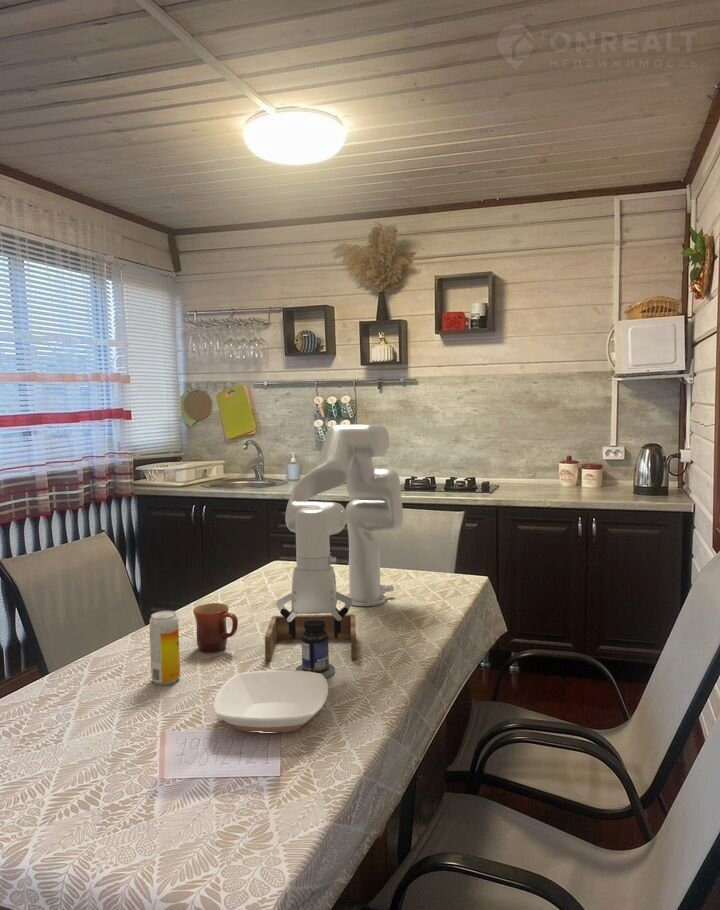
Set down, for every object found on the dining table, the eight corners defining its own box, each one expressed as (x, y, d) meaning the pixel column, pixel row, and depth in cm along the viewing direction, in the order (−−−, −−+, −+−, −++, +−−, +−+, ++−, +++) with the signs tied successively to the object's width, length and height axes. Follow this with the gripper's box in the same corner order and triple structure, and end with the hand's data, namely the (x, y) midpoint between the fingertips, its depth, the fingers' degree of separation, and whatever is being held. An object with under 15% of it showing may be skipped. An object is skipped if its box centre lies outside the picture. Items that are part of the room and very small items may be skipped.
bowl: (230, 693, 140) (229, 669, 140) (332, 693, 140) (331, 669, 139) (203, 746, 119) (202, 718, 118) (323, 747, 118) (323, 718, 118)
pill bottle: (330, 664, 154) (330, 617, 153) (326, 675, 148) (326, 626, 147) (304, 663, 154) (303, 617, 153) (299, 674, 148) (298, 626, 147)
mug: (186, 651, 164) (185, 611, 164) (209, 640, 172) (207, 601, 171) (226, 658, 159) (225, 617, 158) (247, 646, 167) (246, 606, 166)
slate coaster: (323, 661, 157) (323, 659, 157) (342, 674, 149) (342, 671, 149) (288, 669, 152) (288, 667, 152) (306, 683, 145) (306, 681, 145)
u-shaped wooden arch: (272, 638, 173) (272, 615, 172) (355, 636, 173) (355, 614, 173) (265, 661, 157) (264, 636, 157) (356, 659, 158) (356, 635, 157)
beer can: (185, 676, 149) (183, 611, 148) (169, 687, 143) (167, 620, 142) (162, 673, 151) (160, 609, 150) (145, 684, 145) (143, 617, 144)
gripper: (351, 557, 153) (352, 629, 154) (276, 559, 152) (278, 631, 154) (351, 566, 145) (353, 641, 147) (272, 568, 145) (275, 643, 147)
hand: (315, 636), depth 151 cm, fingers open, 9 cm apart
